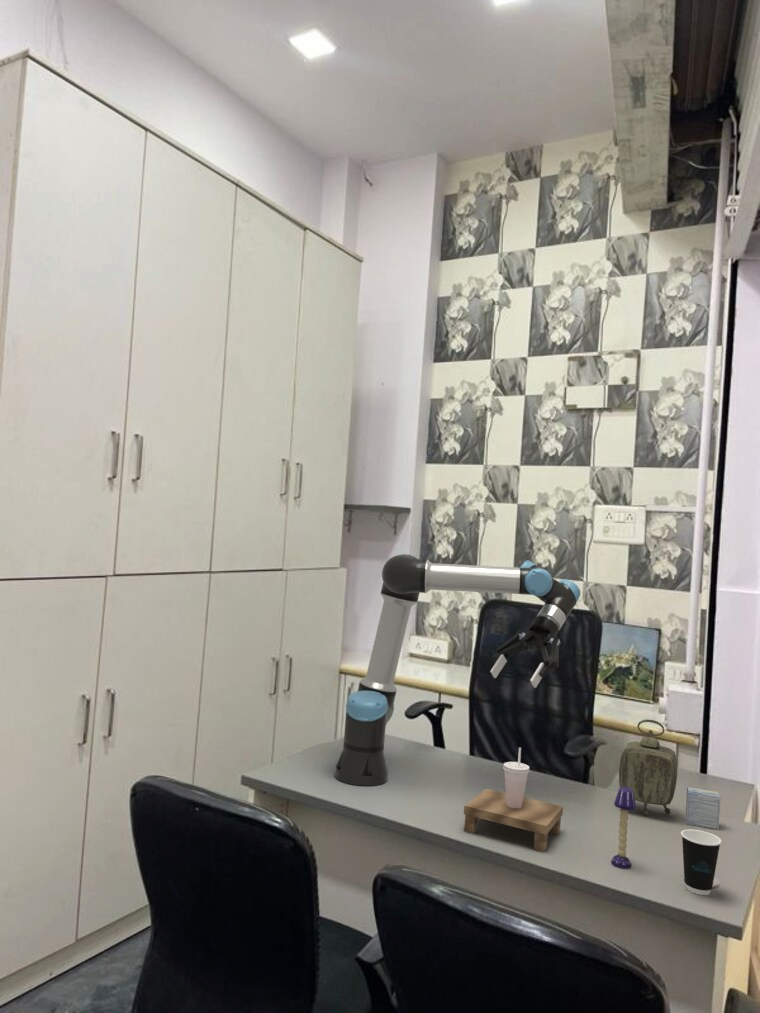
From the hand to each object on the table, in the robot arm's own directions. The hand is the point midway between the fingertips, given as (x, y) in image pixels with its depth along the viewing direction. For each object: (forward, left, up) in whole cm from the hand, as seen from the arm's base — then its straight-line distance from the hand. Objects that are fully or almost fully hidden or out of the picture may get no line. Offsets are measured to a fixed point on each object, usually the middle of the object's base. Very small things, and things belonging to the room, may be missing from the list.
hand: (512, 679), depth 205 cm
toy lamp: (+35, -24, -33) cm, 53 cm away
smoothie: (+9, -21, -27) cm, 35 cm away
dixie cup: (+51, -27, -33) cm, 66 cm away
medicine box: (+49, +17, -33) cm, 61 cm away
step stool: (+9, -21, -33) cm, 40 cm away
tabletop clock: (+35, +16, -33) cm, 51 cm away
